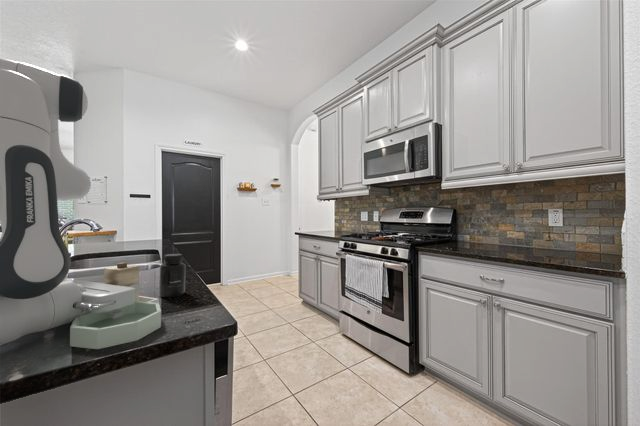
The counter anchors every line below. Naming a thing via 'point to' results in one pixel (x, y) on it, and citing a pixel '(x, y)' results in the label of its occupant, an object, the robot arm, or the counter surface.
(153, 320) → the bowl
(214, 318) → the counter surface
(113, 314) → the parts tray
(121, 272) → the birch canister
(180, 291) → the supplement bottle
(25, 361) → the counter surface
